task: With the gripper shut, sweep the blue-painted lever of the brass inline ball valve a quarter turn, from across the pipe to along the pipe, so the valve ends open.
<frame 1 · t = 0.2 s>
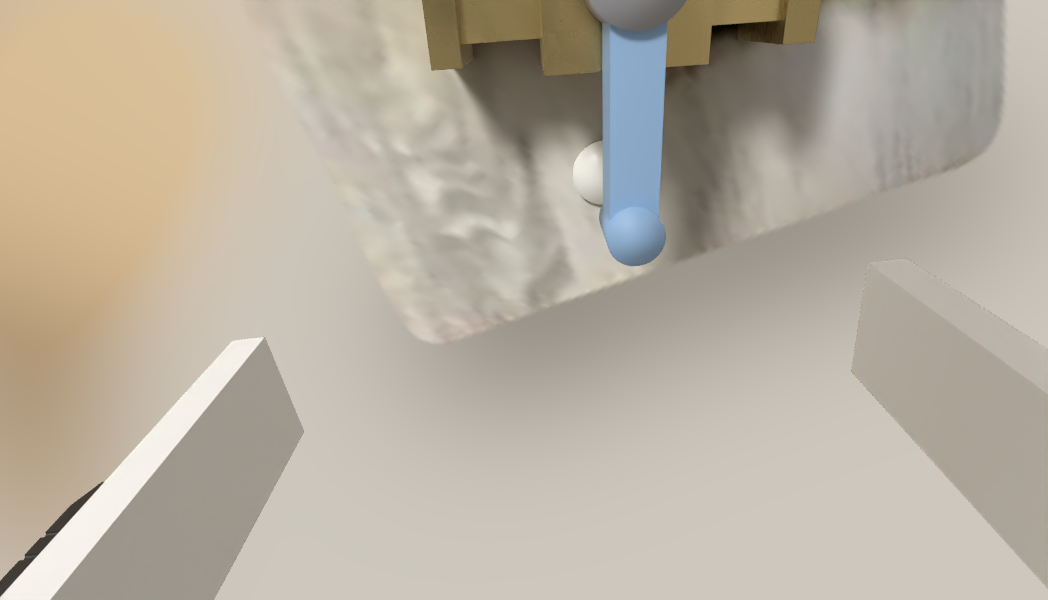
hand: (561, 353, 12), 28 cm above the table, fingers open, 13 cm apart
lever: (633, 103, 26), point 11 cm above the table, hinge at 0.0°
white domed disc: (604, 172, 38), on the table
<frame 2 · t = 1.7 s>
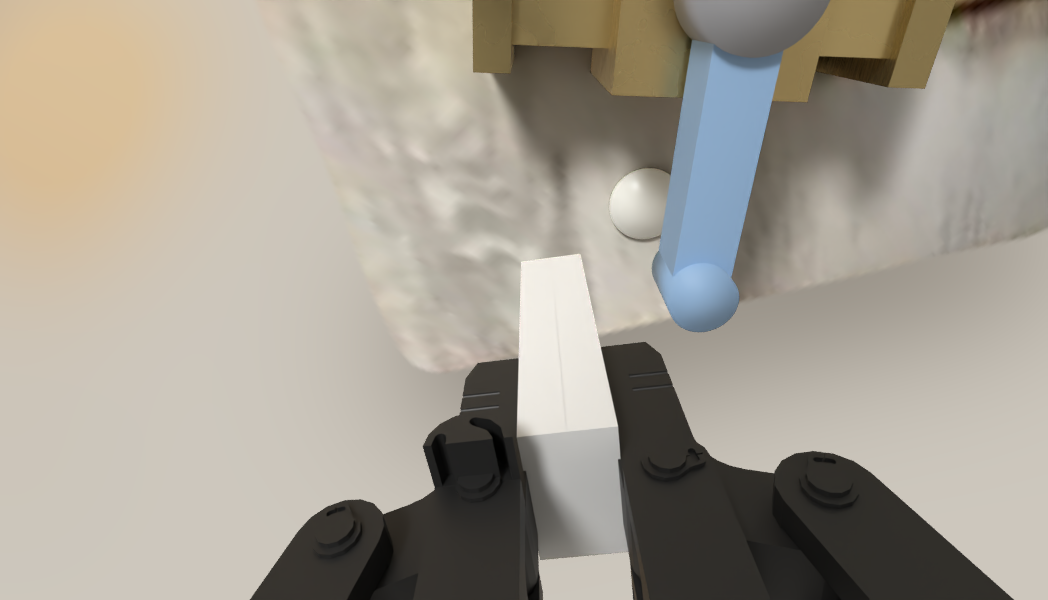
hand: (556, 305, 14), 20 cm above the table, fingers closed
lever: (720, 141, 21), point 11 cm above the table, hinge at 0.0°
white domed disc: (645, 203, 34), on the table
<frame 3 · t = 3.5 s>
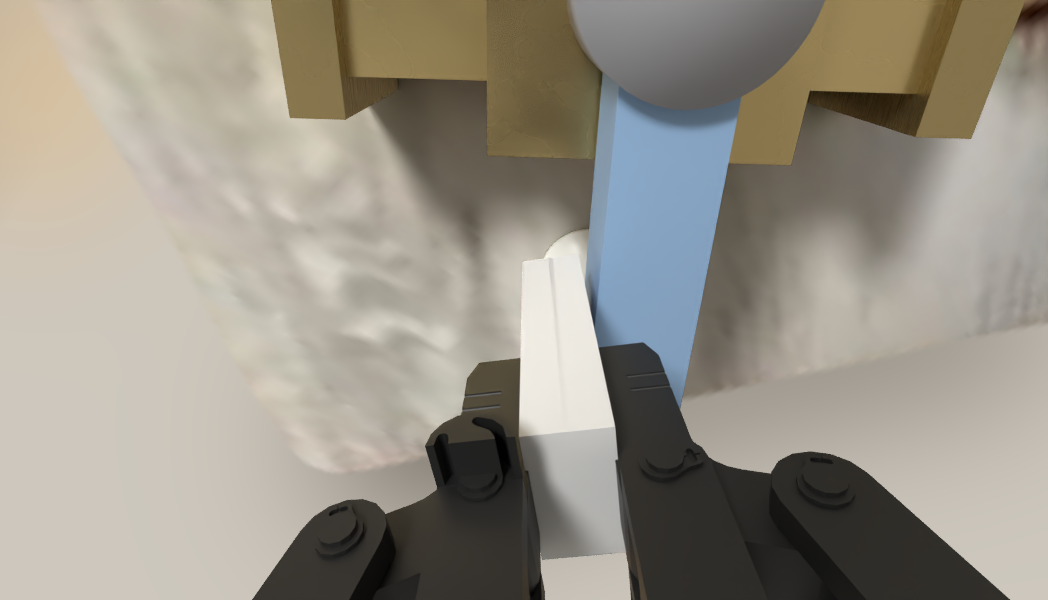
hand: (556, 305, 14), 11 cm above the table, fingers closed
lever: (648, 235, 13), point 11 cm above the table, hinge at 0.0°, touching gripper
white domed disc: (587, 273, 26), on the table
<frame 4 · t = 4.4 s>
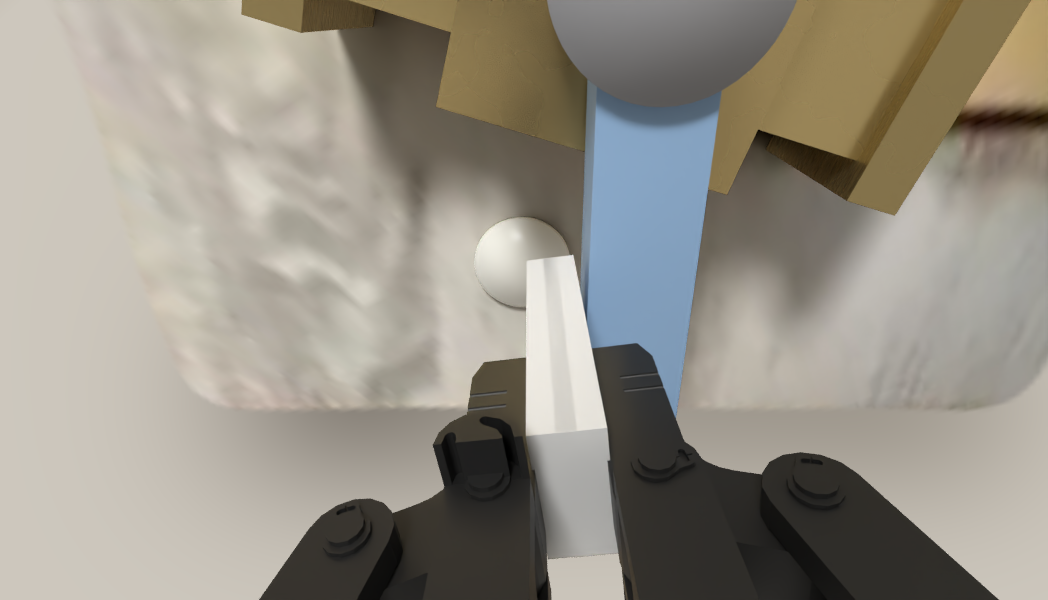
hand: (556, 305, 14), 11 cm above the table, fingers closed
lever: (638, 233, 13), point 11 cm above the table, hinge at 17.0°, touching gripper
white domed disc: (522, 262, 26), on the table
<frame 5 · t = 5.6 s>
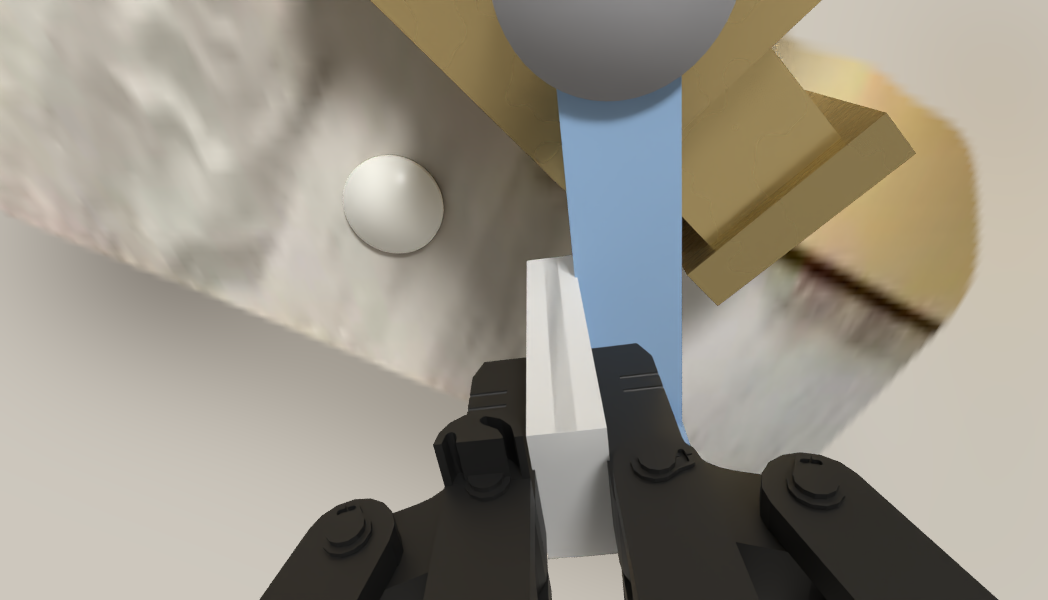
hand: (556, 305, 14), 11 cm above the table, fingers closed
lever: (621, 227, 13), point 11 cm above the table, hinge at 51.2°, touching gripper
white domed disc: (394, 204, 25), on the table
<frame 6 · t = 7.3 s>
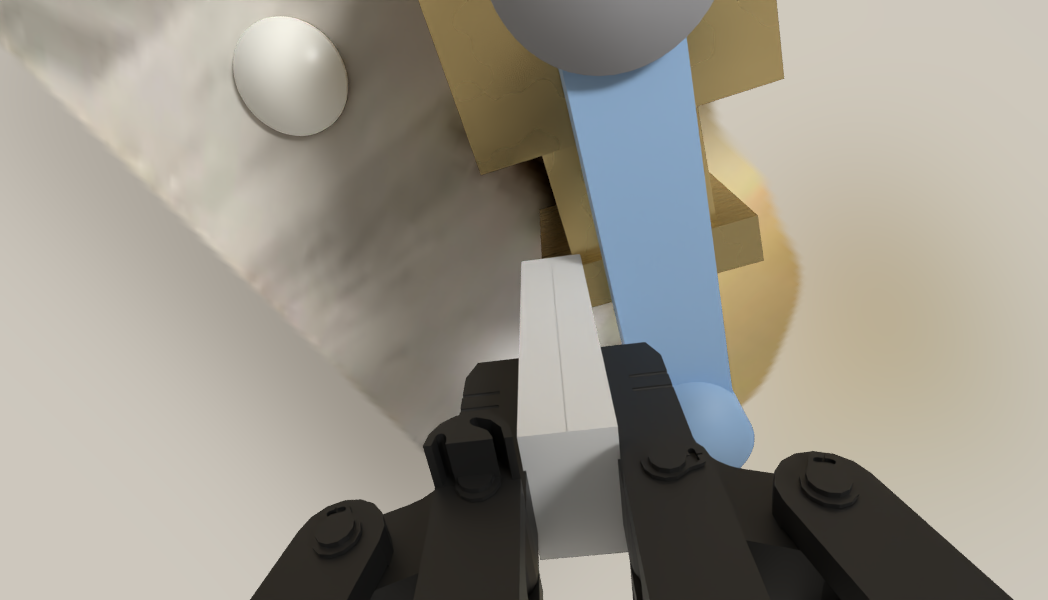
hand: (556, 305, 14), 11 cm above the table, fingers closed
lever: (644, 201, 13), point 11 cm above the table, hinge at 87.8°
white domed disc: (292, 78, 22), on the table
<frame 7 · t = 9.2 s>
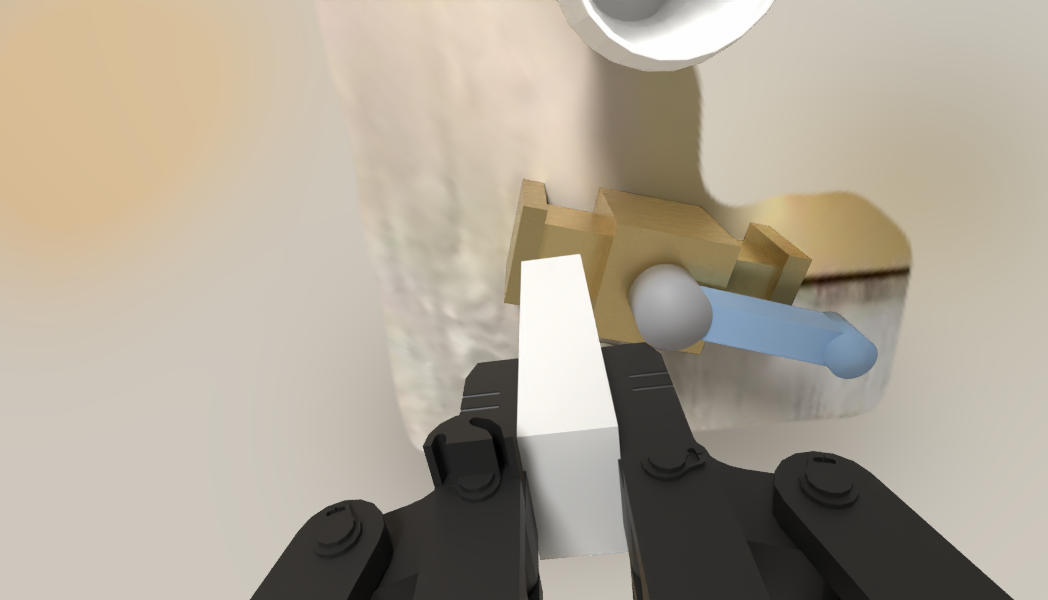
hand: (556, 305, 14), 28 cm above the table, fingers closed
lever: (749, 325, 34), point 11 cm above the table, hinge at 87.8°
valve body: (636, 245, 44), on the table
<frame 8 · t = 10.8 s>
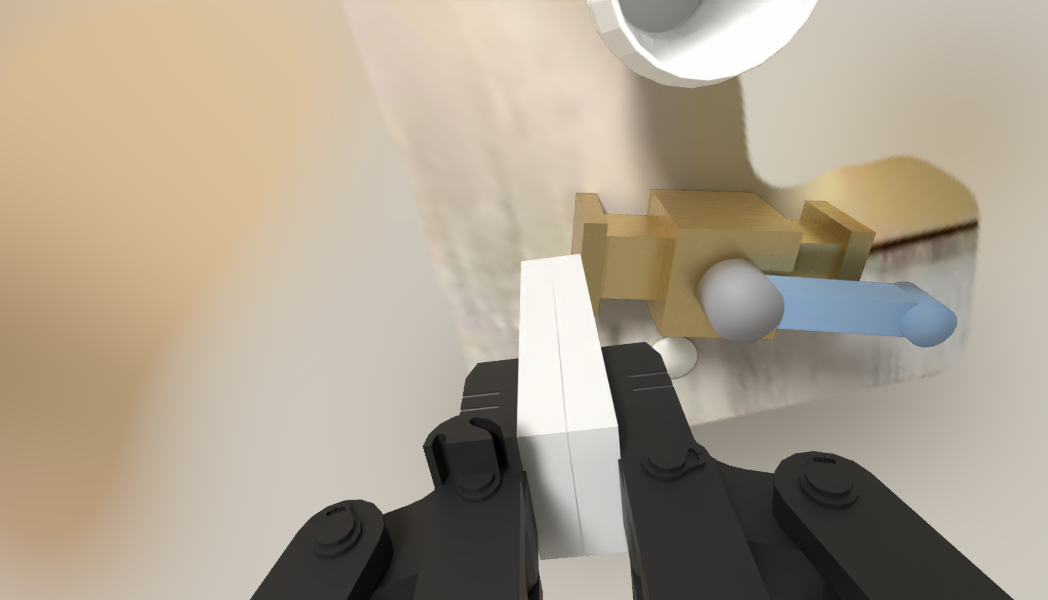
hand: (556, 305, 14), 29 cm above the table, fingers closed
lever: (821, 307, 35), point 11 cm above the table, hinge at 87.8°
white domed disc: (671, 356, 50), on the table
valve body: (693, 239, 45), on the table
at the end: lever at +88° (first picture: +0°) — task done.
